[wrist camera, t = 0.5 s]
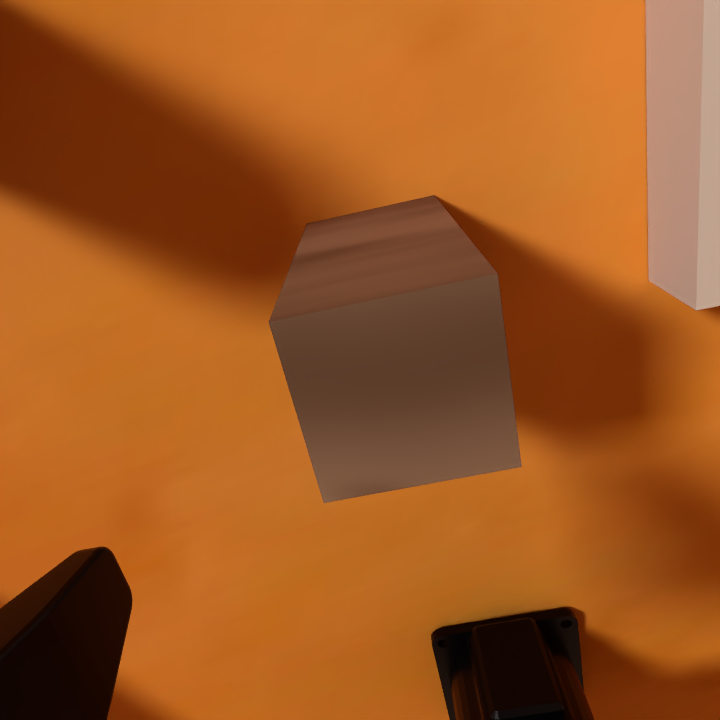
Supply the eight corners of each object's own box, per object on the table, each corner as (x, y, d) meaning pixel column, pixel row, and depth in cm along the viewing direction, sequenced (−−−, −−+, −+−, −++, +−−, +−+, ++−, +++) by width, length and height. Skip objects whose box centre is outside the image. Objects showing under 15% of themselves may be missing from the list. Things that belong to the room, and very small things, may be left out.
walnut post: (453, 316, 20) (521, 467, 12) (336, 340, 20) (324, 503, 12) (434, 195, 18) (497, 273, 10) (306, 223, 19) (268, 321, 11)
